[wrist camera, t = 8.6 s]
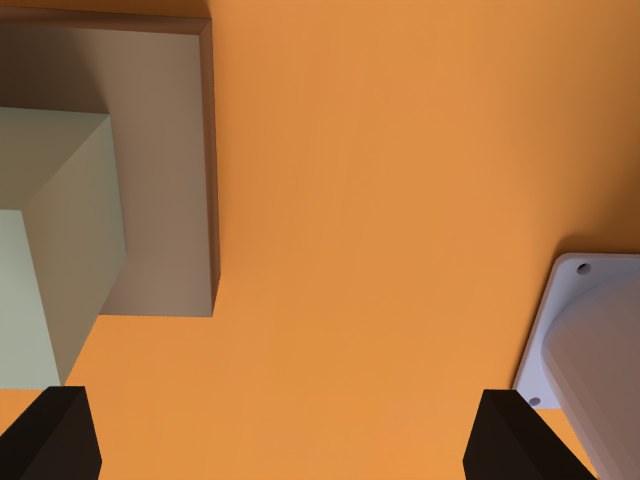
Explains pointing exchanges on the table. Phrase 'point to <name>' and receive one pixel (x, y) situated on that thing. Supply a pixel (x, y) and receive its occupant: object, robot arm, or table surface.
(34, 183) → the sage cube
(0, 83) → the walnut base
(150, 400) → the table surface
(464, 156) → the table surface
